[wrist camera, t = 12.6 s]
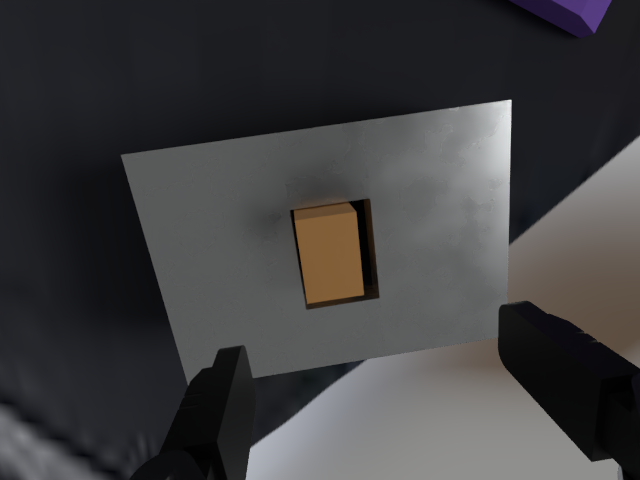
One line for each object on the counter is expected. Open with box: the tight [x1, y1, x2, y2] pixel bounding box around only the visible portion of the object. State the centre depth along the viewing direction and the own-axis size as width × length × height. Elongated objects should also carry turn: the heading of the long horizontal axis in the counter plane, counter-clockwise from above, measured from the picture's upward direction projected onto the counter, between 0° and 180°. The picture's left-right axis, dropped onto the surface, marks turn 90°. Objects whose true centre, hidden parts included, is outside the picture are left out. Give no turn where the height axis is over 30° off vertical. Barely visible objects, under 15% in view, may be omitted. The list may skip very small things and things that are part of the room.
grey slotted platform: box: [121, 100, 511, 386], centre depth 23 cm, size 20×14×8 cm
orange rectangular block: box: [294, 202, 364, 304], centre depth 22 cm, size 3×4×10 cm, turn 7°
